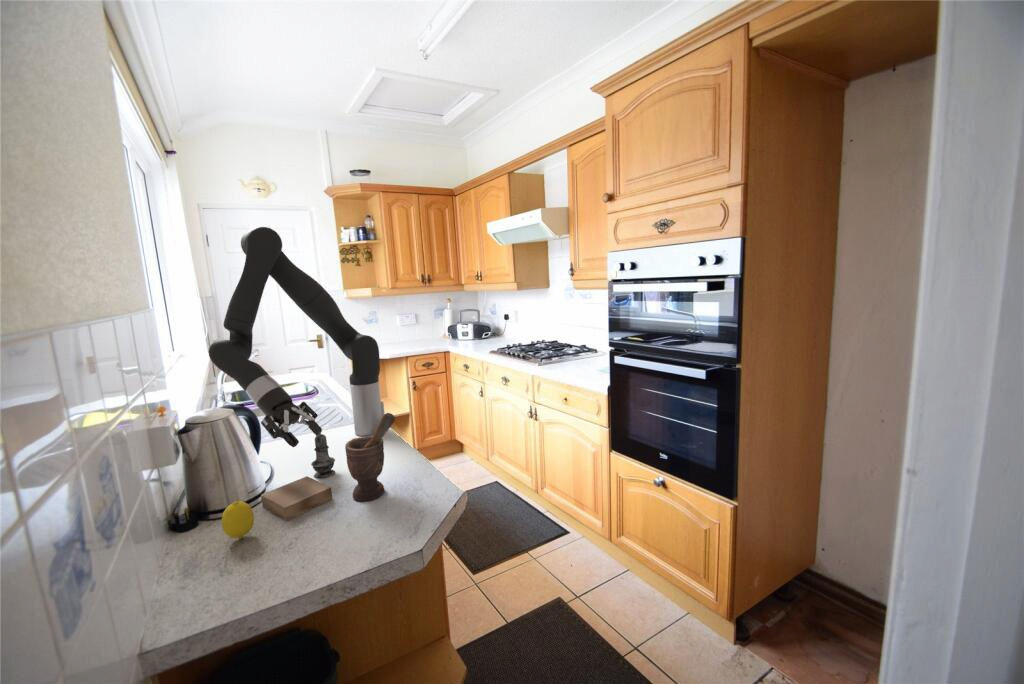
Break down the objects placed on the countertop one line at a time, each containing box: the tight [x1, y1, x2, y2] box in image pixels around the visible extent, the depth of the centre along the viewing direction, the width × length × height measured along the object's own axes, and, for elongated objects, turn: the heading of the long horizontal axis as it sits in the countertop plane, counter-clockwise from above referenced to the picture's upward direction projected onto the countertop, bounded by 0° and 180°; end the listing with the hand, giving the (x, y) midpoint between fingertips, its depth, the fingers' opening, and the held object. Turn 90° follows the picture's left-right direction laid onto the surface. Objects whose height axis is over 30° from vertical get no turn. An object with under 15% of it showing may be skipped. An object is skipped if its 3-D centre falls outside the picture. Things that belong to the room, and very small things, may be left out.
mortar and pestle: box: [344, 412, 396, 502], centre depth 105 cm, size 12×9×20 cm
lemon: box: [221, 500, 255, 539], centre depth 89 cm, size 6×6×8 cm
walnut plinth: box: [260, 476, 334, 521], centre depth 103 cm, size 11×11×3 cm
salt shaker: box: [310, 432, 336, 480], centre depth 117 cm, size 6×6×12 cm
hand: (308, 438), depth 118 cm, fingers open, 8 cm apart
